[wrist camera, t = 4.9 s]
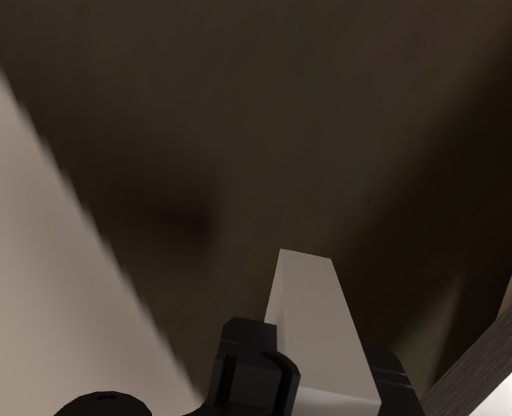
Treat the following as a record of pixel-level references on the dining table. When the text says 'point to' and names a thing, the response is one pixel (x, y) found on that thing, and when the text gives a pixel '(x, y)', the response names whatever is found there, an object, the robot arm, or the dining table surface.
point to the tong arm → (477, 377)
